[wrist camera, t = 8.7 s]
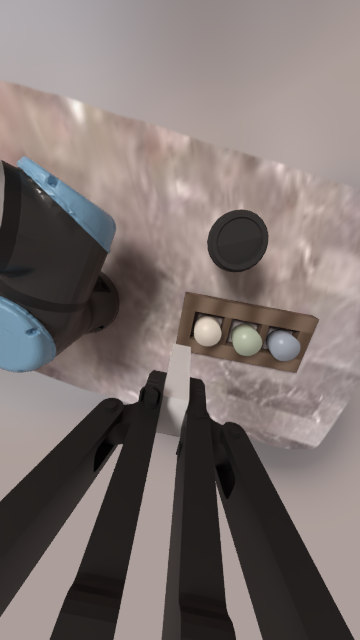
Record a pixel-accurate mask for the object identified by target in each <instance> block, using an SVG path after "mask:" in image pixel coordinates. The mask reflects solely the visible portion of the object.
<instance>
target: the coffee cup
mask: <svg viewBox="0 0 360 640" xmlns="http://www.w3.org/2000/svg"><path fill="white" fill-rule="evenodd" d="M207 244H208V252H209V255H210V257H211V259H212V260H213V262H214V263H215V264H216V265H217V266H218V267H219V268H221V269H223V270H225V271H229V272H242V271H245V270H248V269H250V268H251V267H253V266H254V265H256V264H257V263H258V262H259V261H260V260H261V259H262V257H263V255H264V253H265V252H266V249H267V245H268V231H267V227H266V225H265V223H264V221H263V220H262V219H261V218H260V217H259V216H258V215H257V214H255V213H253V212H251V211H248V210H234V211H231V212H228V213H226V214H224V215H223V216H221V217H220V218H219V219H218V220H217V221H216V222H215V223H214V225H213V226H212V228H211V230H210V232H209V236H208V241H207Z"/></svg>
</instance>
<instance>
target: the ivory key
mask: <svg viewBox="0 0 360 640" xmlns="http://www.w3.org/2000/svg"><path fill="white" fill-rule="evenodd" d="M194 337H195V339H196V341H197V342H198V343H199V344H201V345H203V346H213V345H215V344H216V343H218V342H219V340H220V338H221V329H220V325H219V322H218V320H217V319H216V318H215V317H213V316H210V315H204V316H201V317H200V318H198V319H197V320H196V322H195V325H194Z"/></svg>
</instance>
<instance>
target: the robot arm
mask: <svg viewBox="0 0 360 640" xmlns="http://www.w3.org/2000/svg"><path fill="white" fill-rule="evenodd" d="M17 166H18V168H17V167H14V166H12V165H10V164H8V163H6V162H4V161H2V160H0V368H1V369H4V370H7V371H11V372H26V371H27V372H28V371H33V370H36V369H38V368H39V367H41V366H43V365H44V364H46V363H49V362H50V361H52V360H53V359H54V357H56V356H57V355H58V354H59V353H61V352H62V351H63V350H64V349H66V348H67V347H68V346H70V345H71V344H72V343H73V342H75V341H76V340H77V339H78V338H80V337H81V336H82V335H84V334H89V333H95V332H98V331H101V330H103V329H104V328H106V327H107V326H108V325H109V324H110V323H111V322H112V321H113V320H114V319H115V317H116V315H117V313H118V309H119V297H118V293H117V290H116V288H115V286H114V284H113V283H112V281H111V280H110V279H109V278H108V277H107V276H106V275H105V274H104V273H102V272H101V269H102V266H103V264H104V261H105V259H106V257H107V254H108V253H110V246H111V243H112V241H113V238H114V235H115V232H116V224H115V222H114V220H113V218H112V217H111V216H110V215H109V214H108V213H107V212H105V211H104V210H102V209H101V208H99V207H98V206H97V205H95V204H94V203H92V202H91V201H89V200H88V199H87V198H85V197H84V196H82V195H81V194H79V193H78V192H77V191H75V190H74V189H72V188H71V187H69V186H68V185H67V184H65V183H64V182H62V181H61V180H59V179H58V178H57V177H55V176H54V175H52V174H51V173H49V172H48V171H47V170H45V169H44V168H42V167H41V166H39V165H38V164H37V163H35V162H34V161H32V160H31V159H29V158H28V157H25V156H24V157H22V158H21V159H20V160H19V161H17ZM190 359H191V347H188V346H184V345H179V344H173V349H172V354H171V358H170V363H169V368H168V372H167V373H165V372H160V371H156V370H154V371H152V372H151V373H150V374H149V377H148V380H147V383H146V386H144V387H143V388H142V389H141V390H140V395H139V401H138V402H136V403H134V404H129V405H123V403H122V401H120V400H119V399H116V398H108V399H105V400H103V401H102V402H100V403H99V404H98V405H97V406H96V407H95V408H94V409H93V410H92V411H91V412H90V413H89V414H88V415H87V416H86V417H85V418H84V419H83V420H82V421H81V422H80V423H79V424H78V425H77V426H76V427H75V428H74V429H73V430H72V431H71V432H70V433H69V434H68V435H67V436H66V437H65V438H64V439H63V440H62V441H61V442H60V443H59V444H58V445H57V446H56V447H55V448H54V449H53V450H52V451H51V452H50V453H49V454H48V455H47V456H46V457H45V458H44V459H43V460H42V461H41V462H40V463H39V464H38V465H37V466H36V467H35V468H34V469H33V470H32V471H31V472H30V473H29V474H28V475H27V476H26V477H25V478H24V479H23V480H21V481H20V482H19V484H17V485H16V487H14V489H12V490H11V491H10V492H9V493H8V494H7V495H6V496H5V497H4V498H3V499H2V500H1V501H0V617H1V615H2V614H3V612H4V611H5V609H6V608H7V606H8V605H9V604H10V602H11V601H12V599H13V598H14V596H15V595H16V593H17V592H18V590H19V589H20V587H21V586H22V584H23V583H24V582H25V580H26V579H27V577H28V576H29V574H30V573H31V571H32V570H33V568H34V567H35V566H36V564H37V563H38V561H39V560H40V558H41V557H42V555H43V554H44V552H45V551H46V550H47V548H48V547H49V545H50V544H51V542H52V541H53V539H54V538H55V536H56V535H57V533H58V532H59V531H60V529H61V527H62V526H63V525H64V523H65V522H66V520H67V519H68V517H69V516H70V515H71V513H72V512H73V510H74V509H75V507H76V506H77V504H78V503H79V501H80V500H81V499H82V497H83V496H84V494H85V493H86V491H87V490H88V488H89V487H90V485H91V484H92V482H93V481H94V479H95V478H96V477H97V475H98V474H99V472H100V471H101V469H102V468H103V466H104V465H105V463H106V462H107V461H108V459H109V457H110V456H111V455H112V453H113V452H114V450H115V449H116V447H117V446H118V444H123V447H122V449H121V452H120V455H119V458H118V460H117V463H116V466H115V469H114V472H113V474H112V477H111V480H110V483H109V486H108V489H107V491H106V494H105V497H104V500H103V503H102V505H101V508H100V511H99V514H98V517H97V519H96V522H95V525H94V528H93V531H92V533H91V536H90V539H89V542H88V545H87V547H86V550H85V553H84V556H83V559H82V562H81V564H80V567H79V570H78V572H77V575H76V578H75V580H74V582H73V584H72V586H71V587H70V589H69V591H68V593H67V596H66V598H65V600H64V603H63V605H62V608H61V610H60V613H59V616H58V618H57V621H56V624H55V626H54V630H53V632H52V635H51V637H50V640H113V639H114V634H115V628H116V624H117V619H118V614H119V609H120V604H121V599H122V594H123V589H124V584H125V579H126V574H127V570H128V565H129V560H130V555H131V550H132V545H133V540H134V536H135V531H136V526H137V521H138V516H139V511H140V506H141V501H142V496H143V491H144V486H145V482H146V477H147V472H148V467H149V462H150V458H151V453H152V448H153V443H154V438H155V433H156V432H158V433H163V434H167V435H172V436H177V437H179V436H180V441H179V444H178V449H177V452H176V455H177V466H176V478H175V490H174V501H173V513H172V525H171V537H170V549H169V560H168V573H167V584H166V595H165V608H164V620H163V631H162V640H236V636H235V631H234V627H233V623H232V621H231V619H230V617H229V615H228V612H227V609H226V599H225V588H224V576H223V564H222V553H221V541H220V529H219V518H218V507H217V495H216V484H217V488H218V491H219V494H220V498H221V501H222V504H223V508H224V511H225V514H226V518H227V521H228V524H229V528H230V531H231V535H232V538H233V541H234V545H235V548H236V551H237V554H238V558H239V561H240V565H241V568H242V571H243V575H244V578H245V581H246V585H247V588H248V592H249V595H250V598H251V601H252V604H253V608H254V612H255V615H256V618H257V622H258V625H259V628H260V632H261V635H262V638H263V640H354V638H353V636H352V634H351V632H350V630H349V628H348V627H347V625H346V623H345V621H344V619H343V617H342V615H341V613H340V611H339V610H338V607H337V606H336V604H335V602H334V600H333V598H332V596H331V594H330V592H329V591H328V588H327V587H326V585H325V583H324V581H323V579H322V577H321V575H320V573H319V571H318V569H317V567H316V566H315V564H314V562H313V560H312V558H311V556H310V554H309V552H308V550H307V548H306V547H305V545H304V543H303V541H302V539H301V537H300V535H299V533H298V531H297V530H296V528H295V526H294V524H293V522H292V520H291V518H290V516H289V514H288V512H287V511H286V509H285V506H284V505H283V503H282V501H281V499H280V497H279V495H278V493H277V491H276V489H275V487H274V485H273V484H272V482H271V480H270V478H269V476H268V474H267V472H266V470H265V468H264V466H263V464H262V463H261V461H260V459H259V457H258V455H257V453H256V451H255V449H254V447H253V445H252V444H251V442H250V440H249V438H248V436H247V434H246V432H245V431H244V429H243V428H242V427H241V426H239V425H238V424H236V423H233V422H226V423H225V424H224V425H221V424H219V423H217V422H215V421H213V420H212V419H211V418H210V416H209V413H208V412H207V410H206V396H205V385H204V383H203V381H202V380H200V379H196V378H191V377H190ZM215 481H216V483H215Z"/></svg>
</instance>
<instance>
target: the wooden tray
mask: <svg viewBox="0 0 360 640" xmlns="http://www.w3.org/2000/svg"><path fill="white" fill-rule="evenodd" d="M195 311H196V312H202V313H207V314H212V315H217V316H223V319H222V323H221V327H220V329H221V338H220V340H219V342H218V343H216V344H215V345H213V346H203V345H201V344H199V343H198V342H197V341H196V339H195V337H194V335H191V329H192V324H193V320H194V315H195ZM232 318H233V319H238V320H244V321H249V322H254V323H258V326H257V329H256V331H257V332H258V334H259V335H260V337H261V339H262V346H263V343H264V340H265V337H266V335H267V332H268V329H269V326H275V327H280V328H286V329H291V330H294V331H293V333H292V336H293V337H294V338H296V339H297V340H298V342H299V343H300V352H299V354H298V355H297V356H296V357H295V358H294V359H292V360H289V361H280V360H278V359H276V358H275V357H274V356H273V355H272V353H271V352H270V350H269V349H264V348H262V347H261V349H260V350H259V351H258V352H257V353H256V354H254V355H251V356H243V355H240V354H239V353H237V352H236V350H235V348H234V346H233V343H232V342H227V341H226V340H227V336H228V332H229V329H230V325H231V321H232ZM318 321H319V319H318V318H316V317H314V316H312V315H307V314H301V313H296V312H291V311H285V310H280V309H275V308H270V307H264V306H259V305H254V304H248V303H243V302H238V301H233V300H227V299H222V298H217V297H211V296H206V295H201V294H196V293H190V292H186V293H185V298H184V304H183V309H182V314H181V320H180V325H179V330H178V336H177V341H176V344H179V345H184V346H188V347H191V352H192V353H198V354H203V355H208V356H213V357H218V358H223V359H228V360H234V361H239V362H244V363H249V364H254V365H259V366H265V367H270V368H275V369H280V370H285V371H290V372H297V370H298V368H299V365H300V363H301V361H302V358H303V356H304V354H305V351H306V349H307V347H308V344H309V342H310V340H311V337H312V335H313V333H314V330H315V328H316V326H317V323H318Z"/></svg>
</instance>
